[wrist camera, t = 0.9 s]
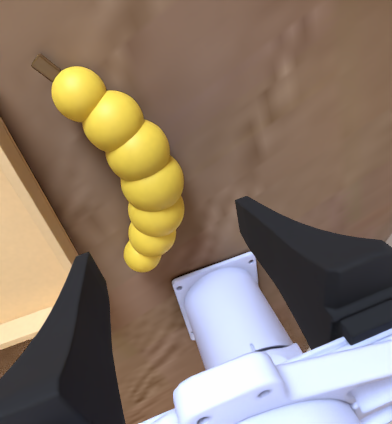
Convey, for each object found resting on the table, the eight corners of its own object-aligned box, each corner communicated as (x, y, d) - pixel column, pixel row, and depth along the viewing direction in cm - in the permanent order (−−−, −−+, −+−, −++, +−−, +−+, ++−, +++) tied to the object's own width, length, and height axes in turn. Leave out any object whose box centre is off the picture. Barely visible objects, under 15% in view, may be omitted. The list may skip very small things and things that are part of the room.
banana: (194, 239, 27) (210, 271, 24) (125, 263, 26) (131, 300, 23) (141, 26, 18) (155, 33, 14) (30, 53, 17) (20, 67, 14)
